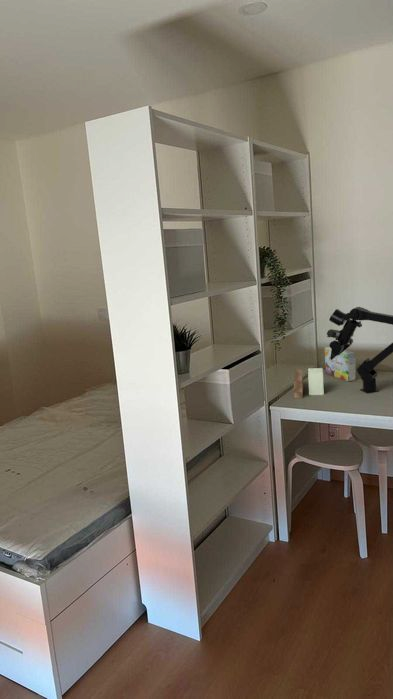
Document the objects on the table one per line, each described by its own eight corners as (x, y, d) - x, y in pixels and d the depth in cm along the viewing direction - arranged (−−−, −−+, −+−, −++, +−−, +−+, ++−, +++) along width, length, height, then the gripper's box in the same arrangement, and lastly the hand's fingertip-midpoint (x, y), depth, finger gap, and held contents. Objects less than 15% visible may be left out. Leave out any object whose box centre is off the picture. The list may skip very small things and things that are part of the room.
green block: (323, 389, 272) (322, 368, 270) (323, 394, 263) (322, 373, 260) (309, 389, 274) (308, 368, 272) (309, 395, 264) (308, 373, 262)
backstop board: (303, 386, 279) (302, 369, 277) (302, 398, 260) (302, 380, 258) (295, 386, 280) (294, 370, 278) (294, 398, 261) (293, 380, 259)
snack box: (324, 373, 301) (323, 347, 298) (333, 372, 302) (332, 346, 299) (347, 381, 281) (347, 353, 278) (356, 380, 283) (356, 352, 280)
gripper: (339, 319, 273) (326, 345, 280) (327, 326, 258) (313, 353, 265) (359, 330, 269) (345, 356, 275) (347, 337, 254) (333, 364, 260)
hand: (334, 357), depth 269 cm, fingers open, 9 cm apart
